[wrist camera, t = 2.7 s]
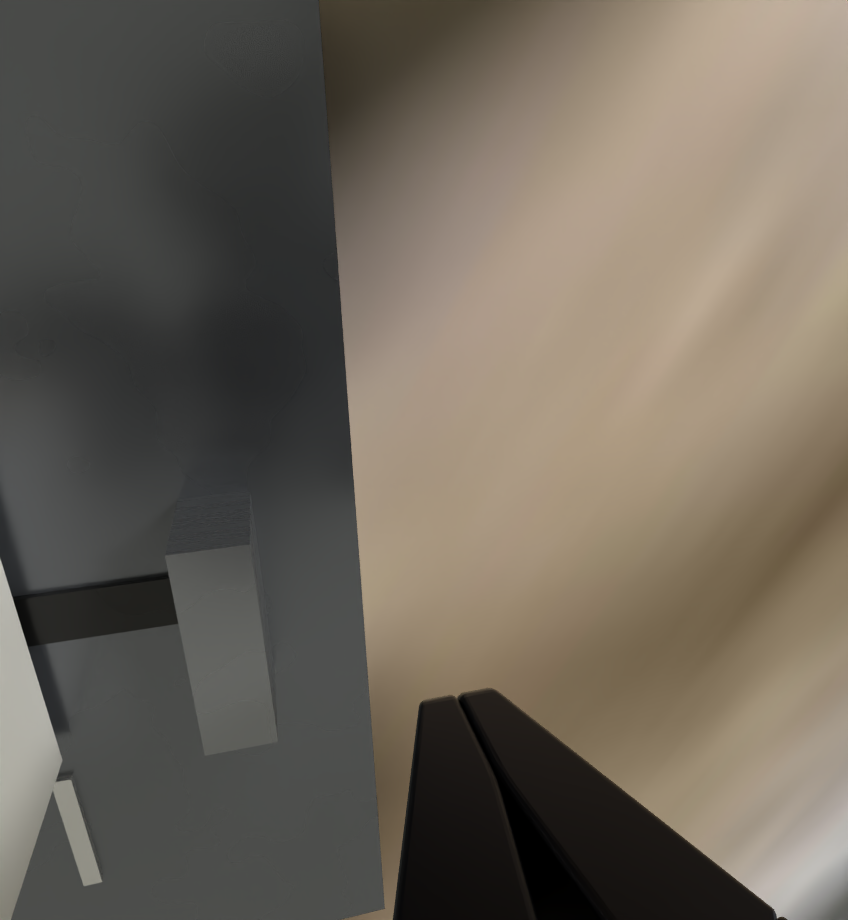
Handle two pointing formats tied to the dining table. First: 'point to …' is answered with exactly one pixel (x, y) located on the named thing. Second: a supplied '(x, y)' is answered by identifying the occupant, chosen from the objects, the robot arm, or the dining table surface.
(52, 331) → the console
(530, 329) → the dining table surface
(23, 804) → the fader
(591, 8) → the dining table surface
